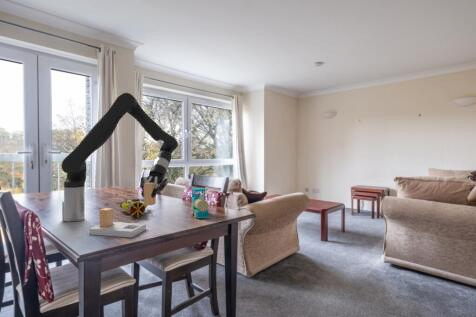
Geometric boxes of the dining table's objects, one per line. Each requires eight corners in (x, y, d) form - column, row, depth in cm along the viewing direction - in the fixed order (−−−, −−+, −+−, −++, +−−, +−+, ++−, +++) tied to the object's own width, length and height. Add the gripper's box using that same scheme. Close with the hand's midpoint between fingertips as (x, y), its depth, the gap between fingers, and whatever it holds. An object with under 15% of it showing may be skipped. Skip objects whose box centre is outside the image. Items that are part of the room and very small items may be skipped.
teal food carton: (196, 220, 146) (196, 192, 146) (190, 213, 162) (190, 188, 161) (210, 219, 149) (211, 191, 149) (203, 212, 165) (204, 187, 164)
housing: (89, 234, 119) (89, 228, 119) (106, 226, 131) (106, 221, 131) (131, 237, 116) (132, 231, 116) (145, 229, 128) (145, 224, 127)
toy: (119, 210, 170) (121, 220, 143) (119, 195, 170) (121, 202, 143) (146, 208, 177) (153, 217, 150) (146, 194, 177) (153, 200, 150)
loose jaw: (143, 204, 127) (143, 183, 126) (147, 203, 131) (148, 182, 130) (151, 205, 126) (151, 183, 126) (155, 203, 130) (155, 182, 130)
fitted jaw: (99, 231, 122) (99, 209, 122) (105, 229, 126) (105, 207, 126) (107, 232, 122) (107, 210, 121) (113, 229, 126) (113, 208, 125)
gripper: (143, 163, 136) (130, 190, 124) (171, 164, 134) (159, 192, 122) (148, 172, 141) (136, 200, 130) (174, 174, 139) (164, 202, 128)
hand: (147, 196), depth 126 cm, fingers closed on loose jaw, 4 cm apart
